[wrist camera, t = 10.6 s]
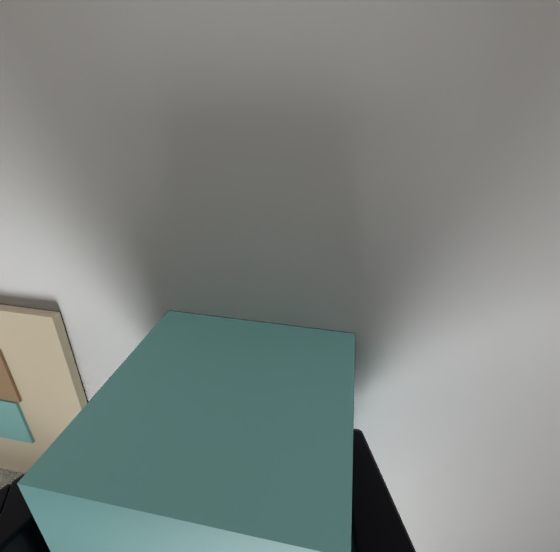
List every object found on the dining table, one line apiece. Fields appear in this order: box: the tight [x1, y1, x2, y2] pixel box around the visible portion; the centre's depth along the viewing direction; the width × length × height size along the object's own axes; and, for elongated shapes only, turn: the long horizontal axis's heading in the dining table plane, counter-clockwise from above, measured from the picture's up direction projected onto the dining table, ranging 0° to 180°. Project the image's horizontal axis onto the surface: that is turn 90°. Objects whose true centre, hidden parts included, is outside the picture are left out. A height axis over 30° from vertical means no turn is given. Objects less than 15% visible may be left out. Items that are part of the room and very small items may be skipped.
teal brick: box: [17, 311, 355, 552], centre depth 8 cm, size 5×5×5 cm
